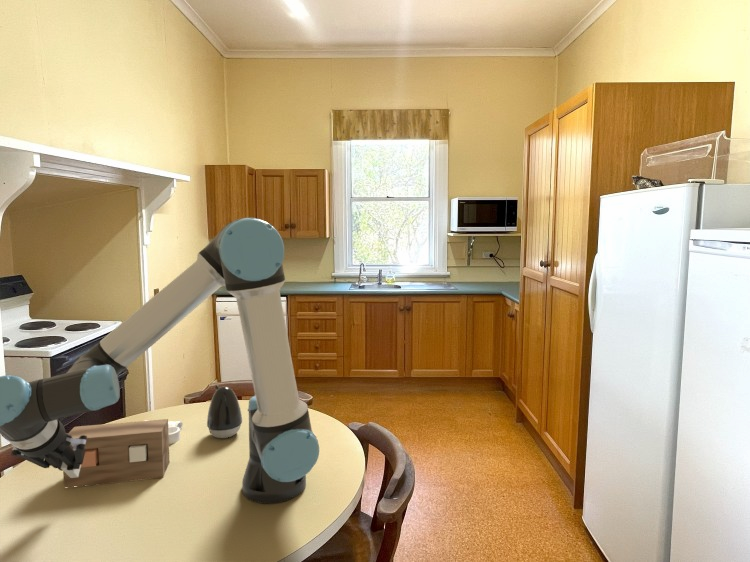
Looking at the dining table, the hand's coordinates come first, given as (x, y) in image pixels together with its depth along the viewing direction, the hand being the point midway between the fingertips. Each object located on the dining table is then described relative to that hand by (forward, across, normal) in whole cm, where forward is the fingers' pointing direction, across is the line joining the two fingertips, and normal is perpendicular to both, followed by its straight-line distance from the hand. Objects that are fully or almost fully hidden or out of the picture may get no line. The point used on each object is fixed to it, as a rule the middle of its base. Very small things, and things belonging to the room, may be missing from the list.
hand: (76, 471), depth 102 cm
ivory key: (+8, +11, +5) cm, 15 cm away
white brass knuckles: (+30, +8, +18) cm, 35 cm away
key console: (+14, +5, +3) cm, 15 cm away
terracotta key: (+8, 0, +5) cm, 10 cm away
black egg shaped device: (+27, +29, +16) cm, 43 cm away
